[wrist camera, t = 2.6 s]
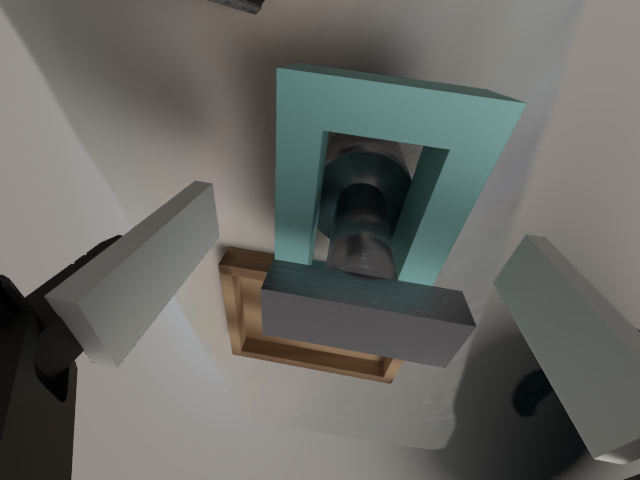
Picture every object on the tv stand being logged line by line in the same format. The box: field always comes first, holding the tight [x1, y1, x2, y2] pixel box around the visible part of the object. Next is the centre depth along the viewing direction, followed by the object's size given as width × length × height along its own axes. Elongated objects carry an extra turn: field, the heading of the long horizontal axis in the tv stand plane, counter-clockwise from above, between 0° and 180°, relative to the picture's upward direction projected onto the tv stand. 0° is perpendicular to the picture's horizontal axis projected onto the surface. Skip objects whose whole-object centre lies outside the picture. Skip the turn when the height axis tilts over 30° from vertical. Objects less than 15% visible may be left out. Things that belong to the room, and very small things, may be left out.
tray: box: [218, 247, 404, 384], centre depth 25 cm, size 13×17×2 cm
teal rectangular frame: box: [275, 63, 527, 286], centre depth 12 cm, size 13×7×3 cm, turn 173°
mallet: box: [261, 133, 476, 368], centre depth 12 cm, size 5×6×12 cm
